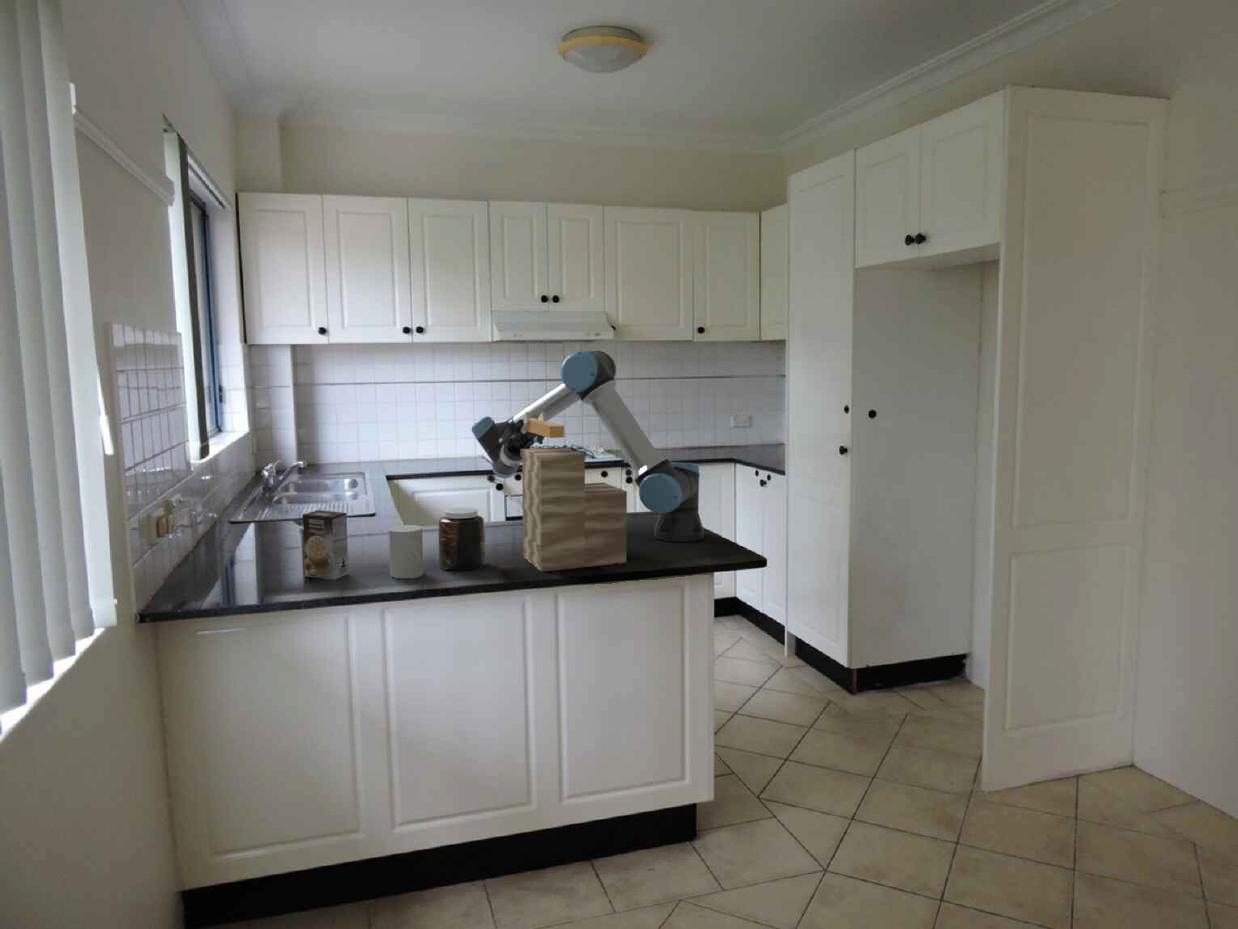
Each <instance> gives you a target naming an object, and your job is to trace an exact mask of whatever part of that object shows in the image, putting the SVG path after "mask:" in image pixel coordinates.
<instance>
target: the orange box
mask: <svg viewBox="0 0 1238 929" xmlns="http://www.w3.org/2000/svg"><path fill="white" fill-rule="evenodd" d="M529 419H530V422H529V423H528V425H527V426H526V428H525V431H528V432H532V433H535V434H538V435H542V436H545V437H544V438H549V439H555V438H556V439H557V438H558V439H560V438H565V425H561V424H557V423H554V422H551V421H543V420H539V419H535V418H529ZM520 420H522V418H520Z"/></svg>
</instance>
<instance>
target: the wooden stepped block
mask: <svg viewBox="0 0 1238 929" xmlns="http://www.w3.org/2000/svg"><path fill="white" fill-rule="evenodd" d="M585 456H586V455H585V453H582V452H578V451H575V450H573V449H569V448H567V447H564V446H563V447H562V446H560V447H558V446H556V447H539V448H538V447H537V448H536V447H535V448H530V449H521V457H522V462H521V467H522V468H521V470H522V472H521V475H522V477H521V478H522V480H521V482H522V549H523V550H522V551H523V552H522V557H524V558H523V559H524V560H526V559H527V560H528V561H527V560H526V561H527V562H529V563H530V564H531V563H532V564H533V567H535V568H536V567H537V568H536V569H538V570H539V571H540V572H541V571H542V572H548V571H549V572H550V571H561V570H568V569H569V570H571V569H578V568H587V567H588V568H589V567H595V566H596V567H598V566H606V565H615V563H618V564H625V563H627V523H628V522H627V520H628V519H627V516H628V515H627V514H628V512H627V510H628V508H627V506H628V504H627V502H628V499H627V498H628V496H627V495H628V494H627V492H628V491H626V490H624V489H621V488H619V487H616V486H614V485H612V484H609V483H606V482H592V483H591V482H589V483H586V481H585V480H586V478H585V477H586V461H585V460H586V457H585ZM532 564H531V565H532Z"/></svg>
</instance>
